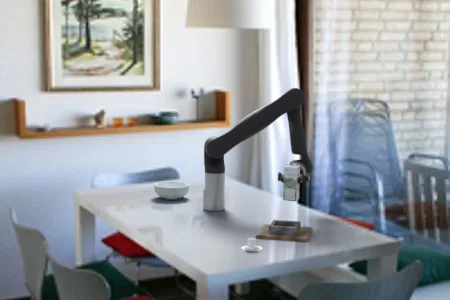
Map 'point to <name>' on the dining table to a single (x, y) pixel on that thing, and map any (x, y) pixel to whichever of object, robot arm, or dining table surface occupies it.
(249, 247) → the teacup and saucer
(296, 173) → the syrup box
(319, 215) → the dining table surface
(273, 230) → the collar board
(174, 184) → the cereal bowl
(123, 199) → the dining table surface
